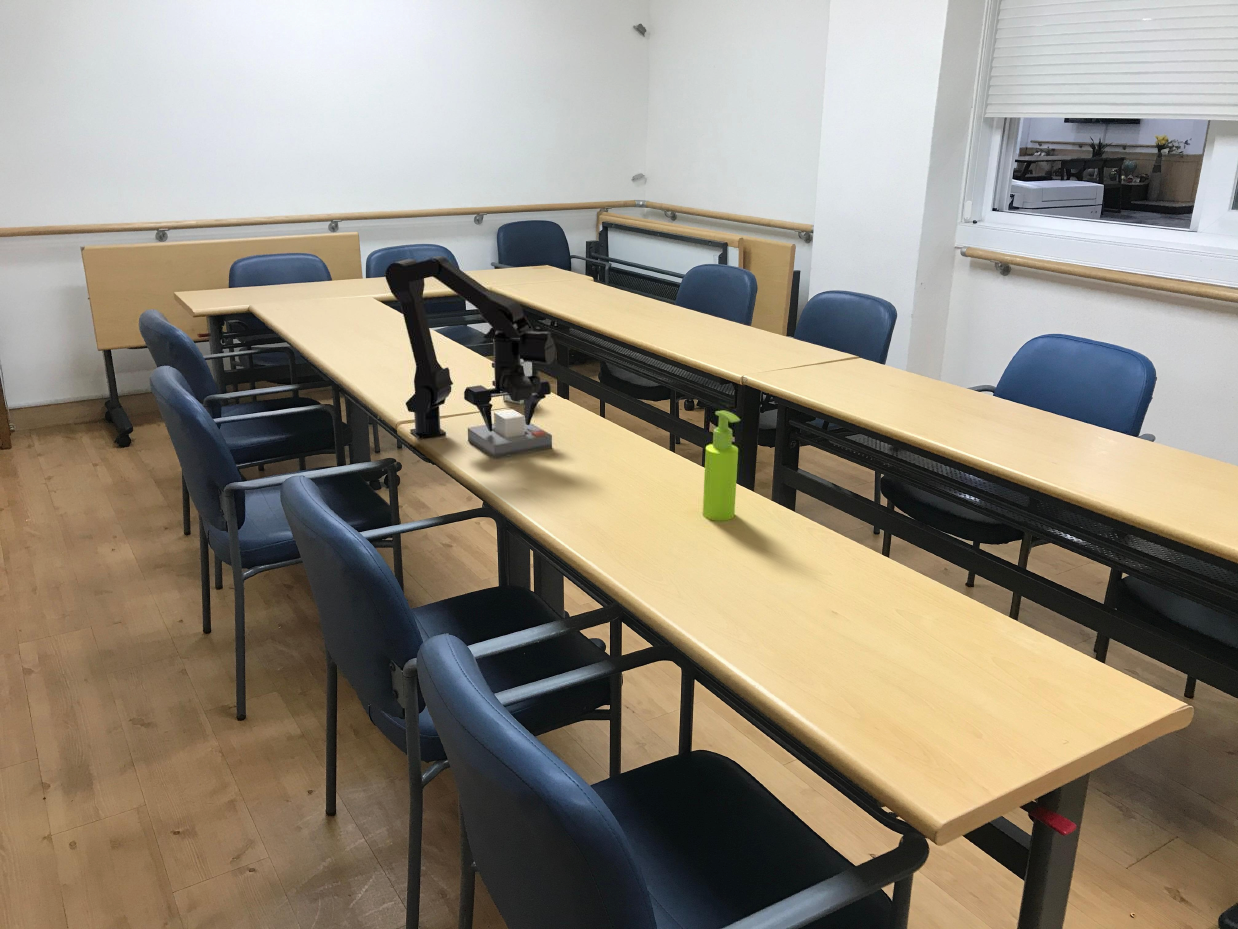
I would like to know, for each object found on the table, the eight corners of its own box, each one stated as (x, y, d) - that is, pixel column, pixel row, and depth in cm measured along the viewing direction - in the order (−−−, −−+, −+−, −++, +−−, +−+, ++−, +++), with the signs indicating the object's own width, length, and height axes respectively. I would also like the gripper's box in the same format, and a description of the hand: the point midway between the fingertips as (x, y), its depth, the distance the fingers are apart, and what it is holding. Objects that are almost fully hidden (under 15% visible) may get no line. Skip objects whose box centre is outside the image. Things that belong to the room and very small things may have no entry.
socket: (468, 440, 215) (467, 424, 214) (523, 430, 222) (523, 415, 221) (494, 458, 204) (494, 442, 203) (552, 447, 211) (551, 432, 210)
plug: (494, 437, 214) (493, 412, 212) (513, 434, 217) (512, 409, 214) (506, 445, 209) (505, 419, 207) (525, 441, 212) (524, 416, 210)
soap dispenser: (716, 525, 173) (722, 420, 166) (696, 511, 179) (701, 409, 172) (743, 519, 176) (750, 415, 169) (722, 506, 181) (728, 405, 174)
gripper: (483, 373, 196) (485, 445, 201) (562, 362, 205) (563, 431, 210) (461, 361, 204) (464, 430, 210) (538, 351, 214) (539, 418, 219)
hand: (509, 427), depth 212 cm, fingers open, 9 cm apart
